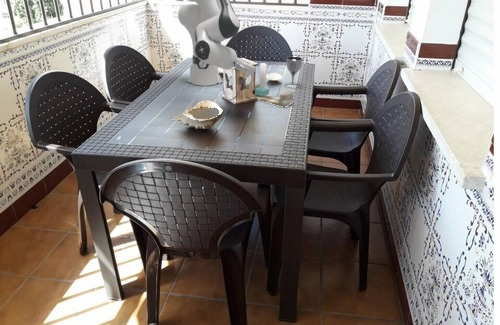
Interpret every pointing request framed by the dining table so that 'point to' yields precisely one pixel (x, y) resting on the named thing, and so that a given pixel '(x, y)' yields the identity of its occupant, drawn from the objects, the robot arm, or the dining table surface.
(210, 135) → the dining table surface
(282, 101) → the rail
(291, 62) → the wine glass
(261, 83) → the white tall piece
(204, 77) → the robot arm
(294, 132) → the dining table surface
